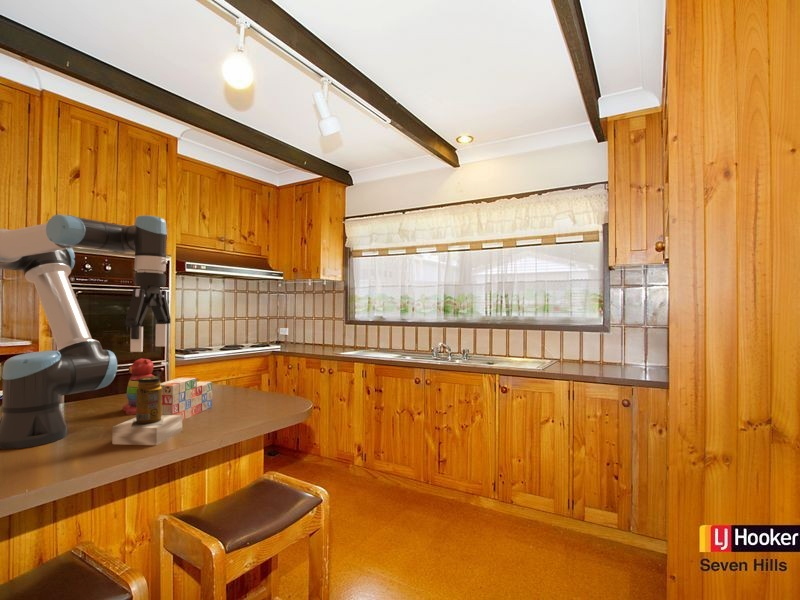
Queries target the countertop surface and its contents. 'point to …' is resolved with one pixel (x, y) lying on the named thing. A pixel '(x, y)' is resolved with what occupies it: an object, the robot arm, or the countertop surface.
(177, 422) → the birch block
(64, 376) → the robot arm
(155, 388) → the condiment
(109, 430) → the countertop surface
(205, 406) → the stack of blocks
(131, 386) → the stacking bear
